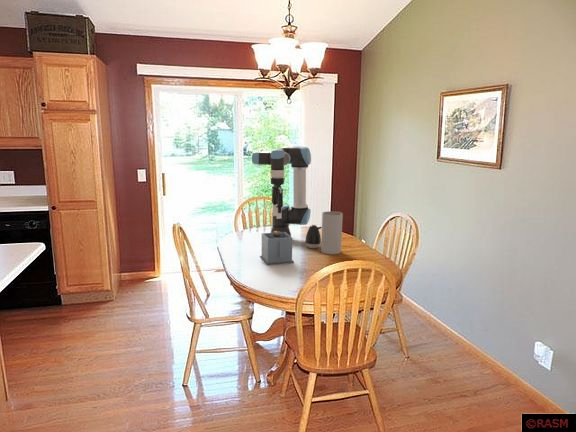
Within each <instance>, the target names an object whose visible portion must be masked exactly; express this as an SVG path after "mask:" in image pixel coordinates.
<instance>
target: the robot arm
mask: <svg viewBox="0 0 576 432" xmlns="http://www.w3.org/2000/svg"><path fill="white" fill-rule="evenodd" d="M251 162H252V165H258V166H259V165H262V166H270V171H269V173H270V185H273V186H271V203H272V213H271V214H272V226H271V227H272V228H271V230H270V233H273V232H274V231H280V232H286V233H287V234H288V235H290V236H291V237H292V233H291V230H290V225H300V226H306V225H308V224H309V222H310V217H311V209H310V208H309V205H308V204H307V169H308V167H309V165H311V162H312V154H311V150H310V149H309V147H308V146H307V147H306V146H289V145H288V146H280V147H277V148H274V149H271V150H265V151H253V152H252V154H251ZM286 165H290V167H291V168H292V169H293V171H292V172H293V178H292V179H293V181H292V183H293V186H292V187H293V202H292V204H291V206H290V205H289V204H284V196H283V195H284V188H282V185H284V184H285V178H284V177H285V166H286Z"/></svg>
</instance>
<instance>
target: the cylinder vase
mask: <svg viewBox="0 0 576 432" xmlns="http://www.w3.org/2000/svg"><path fill="white" fill-rule="evenodd" d="M321 215H322V216H321V217H322V218H321V227H322V228H321V243H320V247H321V248H320V251H321V253H323V254H326V255H332V256H333V255H339V254H341V252H342V241H343V240H342V238H343V212H341V211H329V210H327V211H323V212H322V214H321Z"/></svg>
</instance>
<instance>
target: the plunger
mask: <svg viewBox="0 0 576 432" xmlns="http://www.w3.org/2000/svg"><path fill="white" fill-rule="evenodd" d="M273 236H275V237H276V238H278V237H279V236H280V231H274V232H273Z"/></svg>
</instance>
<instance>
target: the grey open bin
mask: <svg viewBox="0 0 576 432" xmlns="http://www.w3.org/2000/svg"><path fill="white" fill-rule="evenodd" d="M259 258H260V259H261V260H262V261H263V263H265V265H267V266H273V265H285V264H294V260H293V237H292V235H291V236H290V235H288V234H287V233H286V232H280V236H279V237H278V238H276V237H275V236H273V233H271V232H263V233H261V255H259Z"/></svg>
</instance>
